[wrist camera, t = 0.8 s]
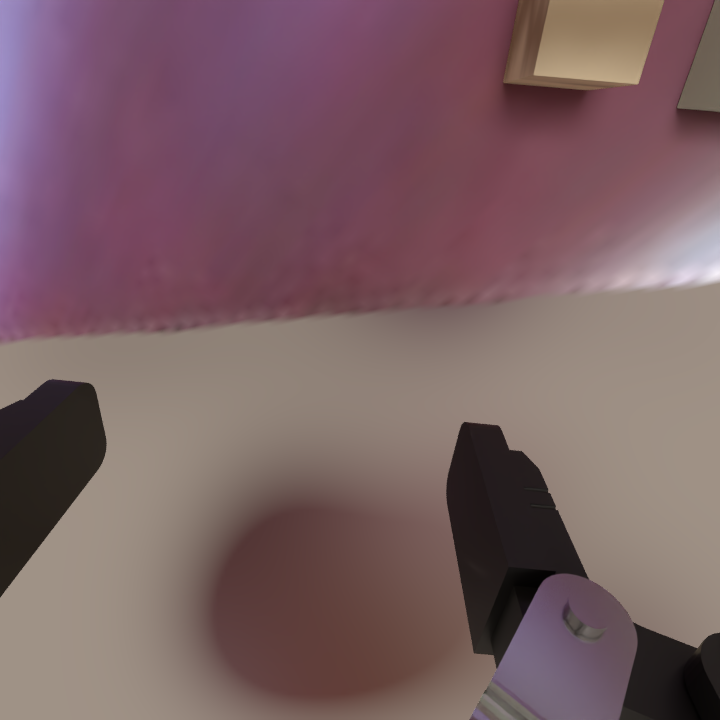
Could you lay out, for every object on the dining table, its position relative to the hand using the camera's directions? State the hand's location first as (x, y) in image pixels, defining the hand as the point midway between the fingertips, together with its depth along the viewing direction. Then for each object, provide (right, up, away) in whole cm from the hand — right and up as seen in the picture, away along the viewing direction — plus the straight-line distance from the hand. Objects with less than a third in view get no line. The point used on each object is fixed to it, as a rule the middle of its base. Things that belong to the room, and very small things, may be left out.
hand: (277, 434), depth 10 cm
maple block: (+13, +20, +16) cm, 28 cm away
